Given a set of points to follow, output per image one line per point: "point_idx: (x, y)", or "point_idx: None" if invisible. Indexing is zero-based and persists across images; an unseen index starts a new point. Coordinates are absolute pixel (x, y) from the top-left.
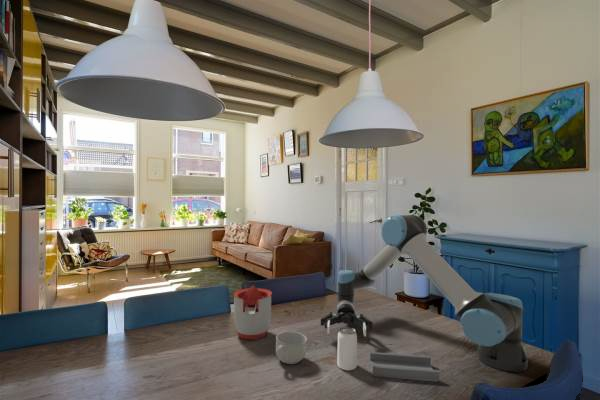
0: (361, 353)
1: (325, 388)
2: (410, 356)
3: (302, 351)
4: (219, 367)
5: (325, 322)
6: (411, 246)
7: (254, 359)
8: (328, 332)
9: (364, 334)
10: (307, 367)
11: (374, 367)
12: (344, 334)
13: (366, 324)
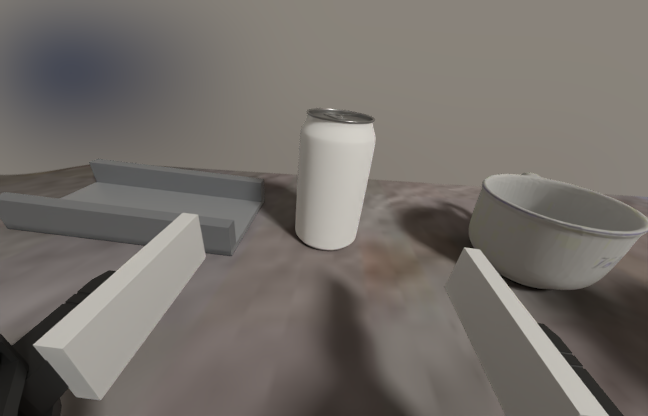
0: (240, 306)
1: (371, 186)
2: (80, 201)
3: (475, 205)
4: (642, 239)
5: (602, 399)
6: None
7: (620, 267)
8: (452, 279)
9: (201, 246)
10: (437, 232)
11: (259, 179)
12: (351, 115)
13: (29, 352)
